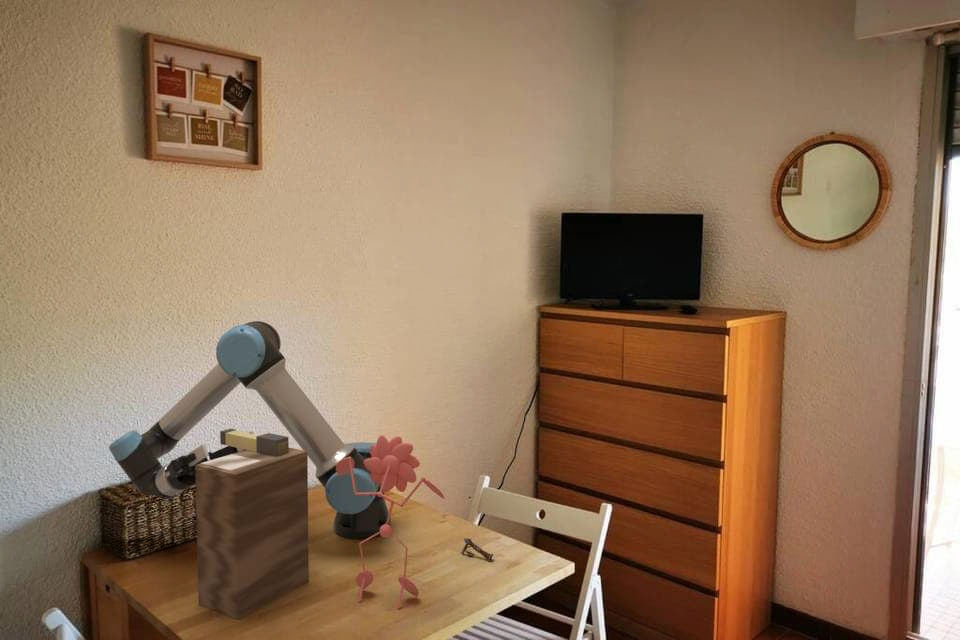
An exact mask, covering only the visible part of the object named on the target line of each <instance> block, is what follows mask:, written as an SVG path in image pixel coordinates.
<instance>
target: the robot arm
mask: <svg viewBox="0 0 960 640" xmlns="http://www.w3.org/2000/svg"><path fill="white" fill-rule="evenodd" d="M281 342H282V341H281V338H280V335H279V333H278V331H277V329H275V327H273V326H272V325H271V324H269V323H267V322H264V321H259V320H257V321H256V320H255V321H254V320H253V321H250V322H247V323H244V324H238V325H235V326H233V327H231V328H230V329H228V330H227V331H225V332H224V333H223V334H222V335H221V337H220V338H219V339H218V342H217V344H216V348H215V349H216V350H215V357H216V361H217V364H215V366H214V367H213V368H212V369H211V370H210V371H209V372H208V373H207V374H205V376H203V378H201V379H200V380H199V381H198V382H197V383H196V384H195V385H194V386H193V387H192V388H191V389H190V390H189V391H188V392H187V393H186V394H185V395H184V396H183V397H182V398H181V399H179V400H178V402H177V403H176V404H174V405H173V406H172V408H171V407H170V409H169V410H168V411H167V412H166V413H165V414H164V415H163V416H162V417H161V418H160V419H159V420H158V421H157V422H155V424H153V426H151V427H150V428H149V429H148V430H147V431H146V432H145V431H144V433H142V434H140V433H139V432H138V431H137V430H134V429H133V430H130V431H129V432H127V433H124V434H123V435H122V436H120V437H119V438H117V439H115V440H114V441H113V442H112V443H110V444H109V446H108V449H109V451H110V452H111V455H112V456H113V458H114V460H115V461H116V463H117V464H118V465H119V466H120V467H121V469H122V470H123V472H124V473H125V475H126V476H128V479H129V480H130V481H131V483H132V484H133V485H134V489H133V491H134V490H135V491H136V492H138V493H141V494H145V495H155V496H159V497H161V498H165V499H170V498H171V499H173V498H174V497H176V496H177V497H180V496H181V495H182V494H181V493H182V492H184V491H185V490H188V489H190V488H191V487H193V486H194V485H196V477H195V465H197V464H200V463H203V462H207V461H210V460H213V459H217V458H220V457H224V456H227V455H230V454H234V453H238V452H241V451H244V450H246V449H241V448H236V447H232V446H227V445H226V446H224V447H222V448H220V449H218V450H215V451H214V452H212V451H211V452H210V451H209V452H208V449H207V446H206V444H205V443H204V444H201V445H199V446H198V447H196V448H195V449H193V450H191V451H190V452H189V453H187V454H185V455H180V456H179V457H177V458H175V459H172V460H171V461H170V462H169V463H167V464H166V465H164V466H162V463H161V462H160V460H159V459H160V458H161V457H163V456H164V455H167V454H169V453H170V452H171V451H172V450H174V448H175V447H176V446H177V444H178V443H179V442H180V441H181V440H182V439H183V438H184V437H185V436H186V435H187V434H188V433H189V432H190V431H191V430H192V429H193V428H194V427H196V425H198V423H200V422H201V421H202V420H203V419H204V418H205V417H206V416H207V415H208V414H209V413H211V411H212V410H213V409H215V407H217V406H218V405H219V404H220V403H221V402H222V401H223V400H224V399H225V398H226V397H227V396H228V395H229V394H230V393H231V392H232V391H233V390H234V389H236V388H237V387H238V385H240V384H242V385H243V386H244V388H245V389H248V390H254V391H256V392H257V393H258V395H259V396H260V397H261V399H262V400H263V402H265V404H266V405H267V406H268V407H269V409H270V410H271V411H272V412H273V414H274V415H275V416H276V417H277V419H278V420H279V422H280V423H281V424H282V426H283V427H284V428H285V429H286V431H288V433H289V434H290V435H291V437H292V438H293V439H294V440H295V442H296V444H298V445H299V447H300V448H301V450H303V451H307V453H308V458H309V459H310V461H311V462H312V463H313V465H314V466H315V468H316V470H315V478H316V479H317V480H318V481H319V483H320V484H321V485H322V486H323V488H324V495H325V498H326V501H327V503H328V505H329V506H330V507H331V508H332V509H333V510H334V511H336V513H335V515H334V519H333V531H334V533H335V534H336V535H338V536H340V537H344V538H349V539H358V538H359V539H367V538H369V537H371V536H373V535H375V534H376V533H378V532H379V530H380V528H381V526H383V525H385V524H386V522H387V518H388V514H389V509H388V506H387V503H386V499H384V498H383V497H378V496H377V495H355V493H354V490H353V484H352V478H351V472H349V473H346V474H344V475H341V476H339V475H338V473H337V471H336V465H337V463H338V462H339V461H340V460H342V459H343V458H348V457H351V458H352V459H353V460H354V464H355V466H354V468H353V475H354V480H355V486H356V493H375V492H380V489H381V487H380V484H381V482H373V481H371V478H370V476H371V473H372V472H371V471H370V470H368V469H367V468H366V467H365V465H364V460H366V459H368V458H372V456H371V454H370V446H371V445H376V444H377V442H364V441H363V442H349V443H344V442H343V440H341V438H340V437H339V436H338V435H337V433H336V431H334V429H333V428H332V427H331V425H330V424H329V422H328V421H327V420H326V419H325V418H324V416H323V415H322V414H321V413H320V411H319V410H318V408H317V407H316V406H315V405H314V403H312V401H311V400H310V398H309V397H308V396H307V395H306V393H305V392H304V391H303V389H302V388H301V387H300V386H299V384H297V382H296V380H295V379H294V378H293V376H291V374H290V373H289V372H288V370H287V369H286V357H284V355H283V354H282V352H281ZM248 433H250V434H255V433H254V431H250V432H248ZM208 458H209V459H208ZM382 494H383V495H385V492H383V491H382ZM172 497H173V498H172ZM171 499H170V500H171ZM391 521H392V519H391V517H390V518H389V521H388V525H389V526H390V527H391V528H392V523H391ZM379 536H381V535H380V534H378V535H376V536H374V537H373V538H375V537H379Z"/></svg>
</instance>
